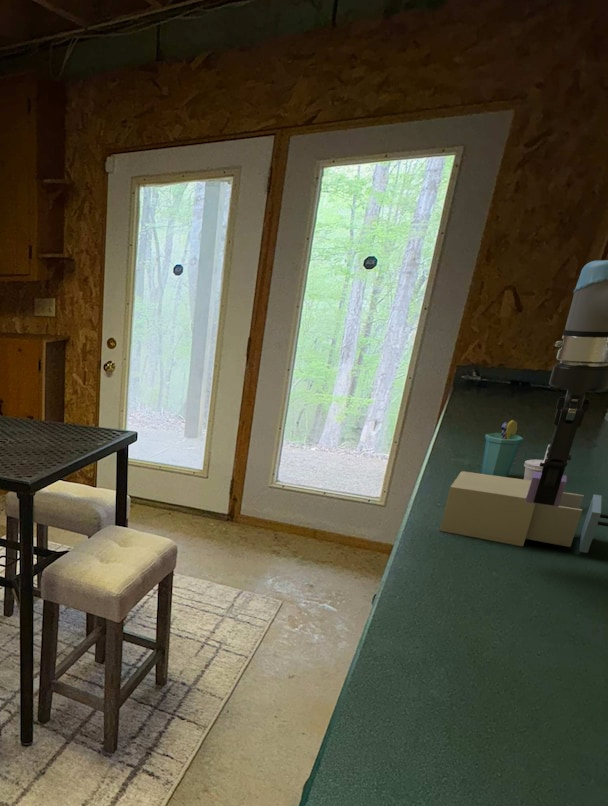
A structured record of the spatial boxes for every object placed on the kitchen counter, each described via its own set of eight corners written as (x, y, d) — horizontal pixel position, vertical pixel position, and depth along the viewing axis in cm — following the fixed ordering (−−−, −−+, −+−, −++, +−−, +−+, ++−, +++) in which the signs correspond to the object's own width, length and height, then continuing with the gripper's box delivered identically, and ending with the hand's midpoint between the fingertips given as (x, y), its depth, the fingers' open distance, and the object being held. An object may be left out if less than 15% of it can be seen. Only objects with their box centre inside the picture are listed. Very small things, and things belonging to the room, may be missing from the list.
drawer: (623, 538, 120) (636, 500, 117) (624, 559, 111) (638, 519, 108) (509, 519, 131) (519, 484, 128) (502, 537, 122) (513, 499, 119)
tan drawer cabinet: (529, 526, 129) (542, 482, 126) (523, 546, 120) (536, 499, 116) (451, 512, 138) (461, 471, 134) (439, 530, 128) (450, 486, 125)
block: (559, 500, 110) (567, 475, 108) (558, 507, 106) (566, 481, 105) (526, 495, 112) (534, 471, 111) (525, 501, 109) (532, 477, 108)
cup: (507, 487, 152) (524, 426, 147) (469, 481, 157) (484, 422, 152) (515, 474, 162) (531, 416, 156) (479, 469, 167) (493, 413, 161)
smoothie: (519, 508, 139) (537, 446, 134) (508, 498, 145) (525, 439, 140) (554, 510, 137) (573, 448, 132) (542, 500, 143) (559, 441, 138)
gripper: (556, 356, 109) (520, 483, 118) (552, 368, 97) (513, 509, 105) (614, 358, 104) (572, 490, 113) (618, 371, 92) (571, 518, 101)
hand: (544, 499), depth 109 cm, fingers closed on block, 4 cm apart
